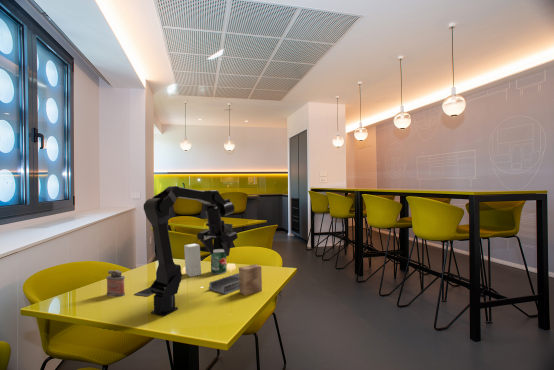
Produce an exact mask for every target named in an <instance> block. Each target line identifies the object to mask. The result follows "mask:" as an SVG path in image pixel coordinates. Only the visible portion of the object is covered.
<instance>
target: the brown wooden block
mask: <svg viewBox="0 0 554 370" xmlns="http://www.w3.org/2000/svg"><path fill="white" fill-rule="evenodd" d="M238 274H239V289H238V291H239V293H240V294H241V295H243V296H248V295H251V294H255V293H256V294H257V293H261V292H262V291H263V285H262V283H263V281H262V279H263V277H262V274H263V273H262V266H260V265H259V264H257V263H256V264H251V265H244V266H240V267H238Z"/></svg>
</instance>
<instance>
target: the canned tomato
mask: <svg viewBox="0 0 554 370" xmlns="http://www.w3.org/2000/svg"><path fill="white" fill-rule="evenodd" d="M227 267H228V266H227V256H226V254H225V252H224V249H223V248H217V249H216V248H215V249H213V254H211V253H210V274H212V275H221V274H222V275H223V274H225V273H227V272H228V271H227Z"/></svg>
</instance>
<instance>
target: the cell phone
mask: <svg viewBox="0 0 554 370" xmlns="http://www.w3.org/2000/svg"><path fill="white" fill-rule="evenodd" d="M150 287H151V286H148V287H147V288H144V289H142V290H140V291H138V292H135V293H134V294H133V295H134V296H139V297H144V298H147V297H150V296H152V295H153V296H154V294H153V293H151V292H150V289H149V288H150ZM164 288H165V287H164Z"/></svg>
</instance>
